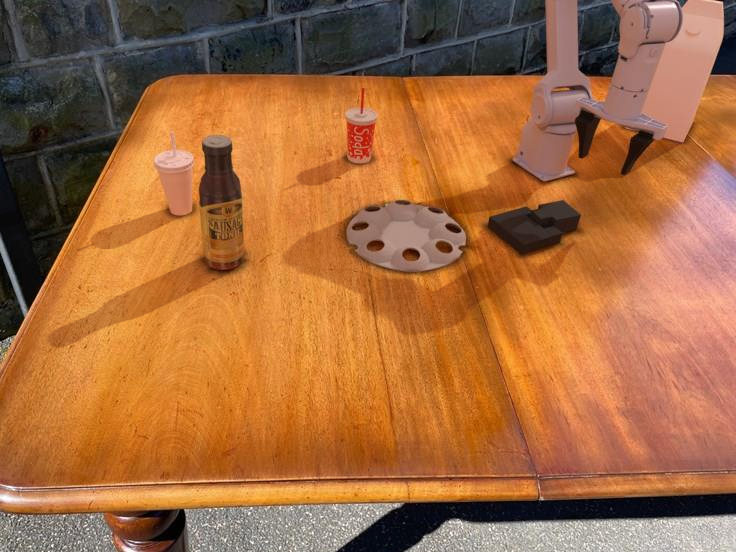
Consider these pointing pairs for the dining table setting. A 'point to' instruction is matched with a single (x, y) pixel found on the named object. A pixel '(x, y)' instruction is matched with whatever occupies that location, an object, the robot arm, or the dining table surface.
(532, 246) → the black pad
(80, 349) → the dining table surface
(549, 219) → the black notched block
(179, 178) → the smoothie
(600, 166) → the dining table surface
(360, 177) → the dining table surface
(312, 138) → the dining table surface
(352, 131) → the beverage cup
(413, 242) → the paint palette
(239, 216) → the sauce bottle
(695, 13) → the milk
